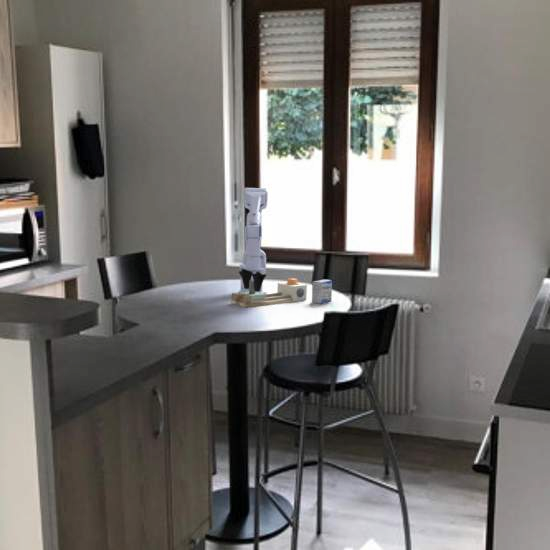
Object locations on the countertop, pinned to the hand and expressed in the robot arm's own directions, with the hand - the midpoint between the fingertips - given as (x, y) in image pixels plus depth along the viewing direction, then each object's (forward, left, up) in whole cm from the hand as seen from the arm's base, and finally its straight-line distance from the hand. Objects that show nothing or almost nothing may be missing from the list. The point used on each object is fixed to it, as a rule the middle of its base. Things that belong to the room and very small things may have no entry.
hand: (252, 290), depth 291 cm
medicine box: (+12, +26, -6) cm, 29 cm away
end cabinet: (0, +20, -5) cm, 21 cm away
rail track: (0, +6, -5) cm, 8 cm away
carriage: (0, 0, -3) cm, 3 cm away
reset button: (0, +20, -3) cm, 21 cm away
